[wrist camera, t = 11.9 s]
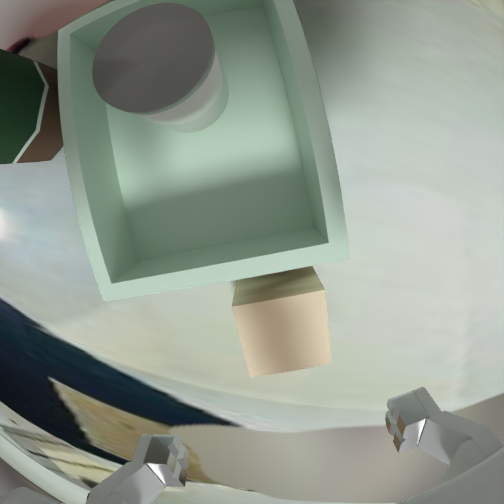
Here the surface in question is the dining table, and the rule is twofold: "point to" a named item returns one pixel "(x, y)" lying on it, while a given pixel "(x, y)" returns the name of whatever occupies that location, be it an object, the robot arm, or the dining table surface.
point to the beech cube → (282, 321)
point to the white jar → (162, 68)
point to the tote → (204, 161)
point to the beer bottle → (28, 110)
